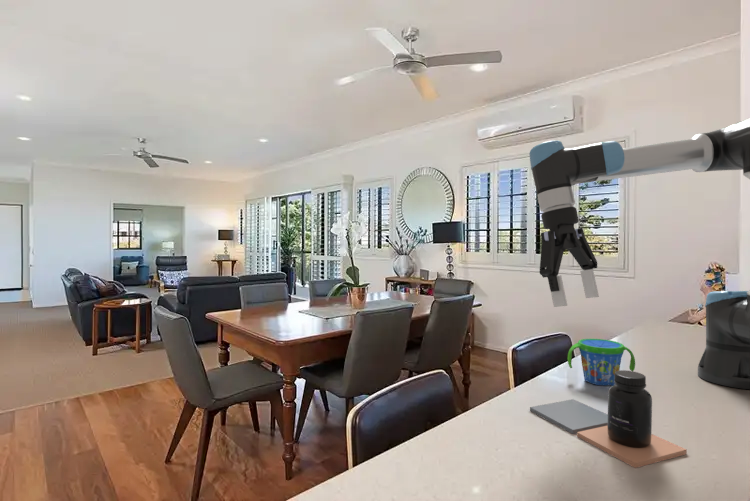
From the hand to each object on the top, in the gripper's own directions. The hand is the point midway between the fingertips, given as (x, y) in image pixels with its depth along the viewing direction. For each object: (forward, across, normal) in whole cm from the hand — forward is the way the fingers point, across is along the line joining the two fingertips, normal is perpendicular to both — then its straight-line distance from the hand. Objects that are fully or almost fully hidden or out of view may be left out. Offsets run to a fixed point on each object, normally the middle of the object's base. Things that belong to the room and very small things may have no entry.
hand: (577, 301), depth 96 cm
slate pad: (+23, +9, -1) cm, 24 cm away
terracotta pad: (+25, +13, +11) cm, 30 cm away
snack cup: (+23, -17, -8) cm, 30 cm away
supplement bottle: (+24, +12, +11) cm, 30 cm away
